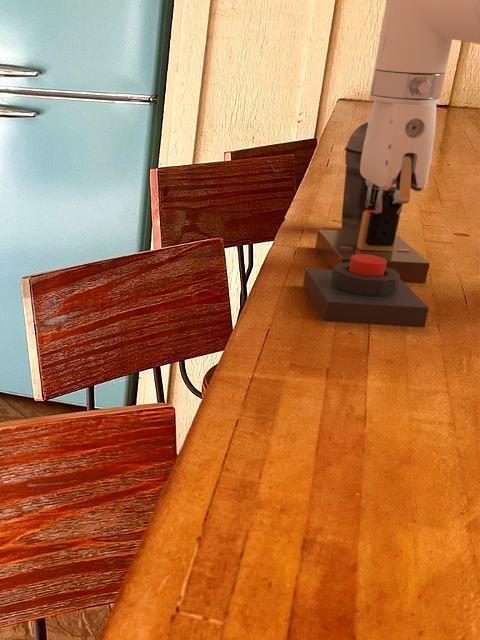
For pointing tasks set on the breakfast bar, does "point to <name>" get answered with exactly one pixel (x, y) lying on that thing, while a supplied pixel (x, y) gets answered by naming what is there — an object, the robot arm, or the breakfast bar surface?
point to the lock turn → (363, 234)
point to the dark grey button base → (364, 297)
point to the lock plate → (344, 245)
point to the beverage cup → (354, 182)
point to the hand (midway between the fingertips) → (376, 242)
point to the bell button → (367, 265)
